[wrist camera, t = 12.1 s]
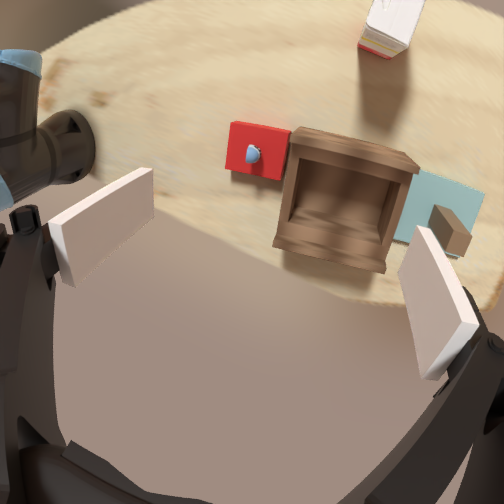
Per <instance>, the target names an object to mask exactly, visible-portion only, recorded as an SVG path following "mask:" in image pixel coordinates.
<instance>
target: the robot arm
mask: <svg viewBox="0 0 504 504" xmlns="http://www.w3.org/2000/svg"><path fill="white" fill-rule="evenodd" d="M41 68H42V57H41V55H40V54H39V53H38V52H35V51H30V50H17V49H14V50H13V49H8V50H0V211H3V210H4V209H7V208H10V207H12V206H13V205H14V204H16V203H18V202H19V201H21V200H23V199H25V198H26V197H28V196H30V195H32V194H34V193H36V192H37V191H39V190H41V189H43V188H45V187H47V186H49V185H59V184H71V183H74V182H76V181H79V180H81V179H82V178H84V177H85V176H86V175H87V174H88V173H89V171H90V169H91V167H92V164H93V161H94V154H95V144H94V138H93V134H92V131H91V128H90V126H89V124H88V122H87V121H86V119H85V118H84V117H83V116H82V115H81V114H80V113H78V112H77V111H74V110H65V111H61V112H57V113H55V114H53V115H52V116H51V117H49V118H48V119H46V120H45V121H44V122H42V123H41V124H40V125H38V126H37V111H38V97H39V87H40V80H41V79H42V76H41ZM9 217H10V221H11V226H12V230H13V235H9V234H7V232H6V228H5V225H4V224H2V223H0V504H212V503H208V502H205V501H202V500H199V499H191V498H182V497H175V496H168V495H161V494H155V493H150V492H146V491H144V490H143V489H141V488H140V487H138V486H137V485H136V484H134V483H133V482H132V481H130V480H129V479H128V478H127V477H125V476H124V475H123V474H122V473H121V472H119V471H118V470H117V469H116V468H115V467H113V466H112V465H111V464H110V463H109V462H108V461H106V460H104V459H102V458H101V457H99V456H97V455H95V454H94V453H92V452H90V451H88V450H87V449H85V448H83V447H82V446H80V445H78V444H77V443H75V442H73V441H72V440H71V441H70V443H69V444H68V446H66V443H65V440H64V438H63V436H62V434H61V431H60V429H59V426H58V421H57V414H56V403H55V390H54V372H53V318H54V300H55V287H56V281H55V277H54V274H56V273H57V272H58V271H60V274H61V278H62V281H63V283H66V284H68V285H70V286H72V287H75V288H76V287H77V286H78V285H79V284H80V283H81V282H82V281H83V280H84V279H85V278H86V277H87V276H88V275H89V274H90V273H91V272H93V271H94V269H96V268H97V267H98V266H99V265H100V264H101V263H102V262H103V261H104V260H105V259H107V258H108V257H109V256H110V255H111V254H112V253H113V252H114V251H115V250H117V249H118V248H119V247H120V246H121V245H122V244H123V243H125V241H127V240H128V239H129V238H130V237H131V236H133V235H134V234H135V233H136V232H137V231H138V230H140V229H141V228H142V227H143V226H144V225H145V224H147V223H148V222H149V221H150V220H151V219H153V218H154V200H153V169H149V168H142V167H141V168H139V169H137V170H135V171H133V172H131V173H129V174H127V175H125V176H123V177H122V178H120V179H118V180H116V181H114V182H112V183H111V184H109V185H107V186H105V187H103V188H102V189H100V190H98V191H96V192H95V193H93V194H92V195H90V196H88V197H86V198H84V199H83V200H81V201H80V202H78V203H76V204H75V205H73V206H71V207H70V208H68V209H67V210H65V211H63V212H62V213H60V214H59V215H57V216H56V217H54V218H53V219H51V220H49V221H48V223H46V224H45V225H43V226H41V221H40V216H39V211H38V207H37V206H36V205H25V206H22V207H19V208H17V209H15V210H14V211H12V212H11V213H10V214H9ZM398 276H399V280H400V284H401V287H402V291H403V295H404V299H405V303H406V307H407V311H408V316H409V320H410V325H411V329H412V334H413V338H414V344H415V349H416V354H417V359H418V366H419V371H420V378H421V379H427V380H436V381H437V380H439V379H440V377H441V376H442V375H443V374H444V373H445V371H446V370H447V372H448V377H449V379H448V380H447V381H446V382H445V383H444V385H443V386H442V387H441V388H440V389H439V390H438V392H436V394H435V395H434V396H433V397H434V399H433V401H432V402H431V403H430V404H429V406H428V407H427V409H426V410H425V411H424V412H423V414H422V415H421V416H420V418H419V419H418V420H417V422H416V423H415V424H414V425H413V427H412V428H411V429H410V430H409V431H408V433H407V434H406V435H405V436H404V437H403V439H402V440H401V441H400V442H399V443H398V444H397V446H396V447H395V448H394V449H393V450H392V451H391V452H390V453H389V455H387V456H386V458H385V459H384V460H383V461H382V462H381V463H380V464H379V465H378V466H377V467H376V468H375V469H374V470H373V471H372V472H371V473H370V474H369V475H368V476H367V477H366V478H365V479H364V480H363V481H362V482H361V483H360V484H359V485H358V486H356V487H355V488H354V489H353V490H352V491H351V492H350V493H349V494H348V495H347V496H345V497H344V498H343V499H342V500H341V501H340V502H338V503H337V504H435V503H436V502H437V500H438V499H439V498H440V496H441V495H442V493H443V492H444V490H445V489H446V488H447V486H448V485H449V483H450V482H451V480H452V478H453V477H454V475H455V474H456V472H457V470H458V469H459V467H460V465H461V464H462V462H463V460H464V458H465V457H466V455H467V453H468V451H469V450H470V448H471V446H472V444H473V447H472V450H471V454H470V458H469V461H468V464H467V467H466V471H465V474H464V477H463V480H462V482H461V485H460V488H459V491H458V493H457V496H456V499H455V501H454V504H504V341H503V340H502V339H501V338H500V337H499V336H497V335H495V334H494V333H490V332H488V329H487V327H486V325H485V323H484V320H483V318H482V316H481V313H480V312H479V309H478V307H477V305H476V303H475V301H474V299H473V297H472V295H471V294H470V293H469V291H468V290H467V289H466V288H465V287H464V286H462V285H461V283H460V282H459V280H458V278H457V276H456V274H455V272H454V270H453V268H452V266H451V264H450V262H449V261H448V259H447V257H446V255H445V253H444V252H443V250H442V248H441V246H440V245H439V243H438V241H437V239H436V238H435V236H434V234H433V233H432V231H431V229H429V228H425V227H422V226H419V225H416V228H415V231H414V234H413V236H412V239H411V241H410V244H409V247H408V249H407V252H406V254H405V256H404V259H403V261H402V264H401V266H400V268H399V271H398ZM473 442H474V443H473Z"/></svg>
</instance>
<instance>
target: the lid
mask: <svg viewBox="0 0 504 504" xmlns="http://www.w3.org/2000/svg"><path fill="white" fill-rule="evenodd" d="M484 195H485V194H484V193H483V192H481V191H479V190H476V189H474V188H471V187H469V186H466V185H463V184H461V183H458V182H456V181H453V180H450V179H447V178H445V177H442V176H439V175H436V174H433V173H430V172H427V171H424V170H421V169H420V171H419V175H417V174H413V178H412V181H411V185H410V188H409V191H408V195H407V198H406V201H405V204H404V208H403V211H402V214H401V217H400V220H399V223H398V226H397V229H396V232H395V234H394V237H393V239H396V240H400V241H404V242H407V243H410V241H411V239H412V236H413V234H414V231H415V228H416V225H419V226H422V227H425V228H429V229H431V231H432V233H433V234H434V236H435V238H436V239H437V241H438V243H439V245H440V246H441V248H442V250H443V252H444V253H446V254H449V255H453V256H456V257H459V258H460V256H461V257H464V255H465V252H466V250H467V248H468V246H469V243H470V241H471V239H472V235H471V234H470V233H471V230H472V228H473V225H474V223H475V220H476V217H477V215H478V212H479V209H480V207H481V204H482V201H483V198H484Z"/></svg>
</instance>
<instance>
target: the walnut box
mask: <svg viewBox="0 0 504 504" xmlns="http://www.w3.org/2000/svg"><path fill="white" fill-rule="evenodd" d="M290 142H291V149H290V155H289V161H288V168H287V174H286V180H285V186H284V192H283V198H282V204H281V210H280V216H279V221H278V227H277V233H276V236H275V238H274V240H273V245H272V247H274V248H279V249H283V250H287V251H291V252H295V253H299V254H304V255H308V256H312V257H316V258H320V259H324V260H328V261H332V262H337V263H341V264H345V265H349V266H353V267H357V268H361V269H365V270H369V271H373V272H377V273H381V274H385V271H386V269H387V268H386V263H385V259H386V256H387V254H388V251H389V248H390V246H391V243H392V240H393V237H394V234H395V232H396V229H397V226H398V223H399V220H400V217H401V214H402V211H403V208H404V204H405V201H406V198H407V195H408V191H409V188H410V185H411V181H412V178H413V174H417V175H419V171H420V167H419V166H418V165H417V164H416V163H415V162H414V161H413V160H412V159H411V158H410V157H409V156H407V155H406V154H405V153H404V152H401V151H397V150H394V149H391V148H387V147H384V146H380V145H377V144H373V143H369V142H366V141H362V140H358V139H354V138H350V137H346V136H342V135H338V134H333V133H329V132H324V131H320V130H315V129H310V128H305V127H299V128H298V129H297V130H295V131H294V132H293V133H292V134H291V135H290Z"/></svg>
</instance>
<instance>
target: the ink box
mask: <svg viewBox="0 0 504 504" xmlns="http://www.w3.org/2000/svg"><path fill="white" fill-rule="evenodd" d="M425 1H426V0H373V3H372V5H371V8H370V11H369V13H368V16H367V19H366V22H365V25H364V27H363V30H362V33H361V36H360V39H359V42H358V45H357V46H358V47H359V48H362V49H364V50H367V51H369V52H372V53H374V54H376V55H378V56H381V57H383V58H385V59H388V60H390V59H391V58H392V57H394V56H395V55H397V54H399V53H400V52H402V51H403V50H405V49H407V48H408V47H409V44H410V41H411V39H412V36H413V34H414V31H415V29H416V26H417V23H418V21H419V18H420V15H421V12H422V9H423V7H424V4H425Z"/></svg>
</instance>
